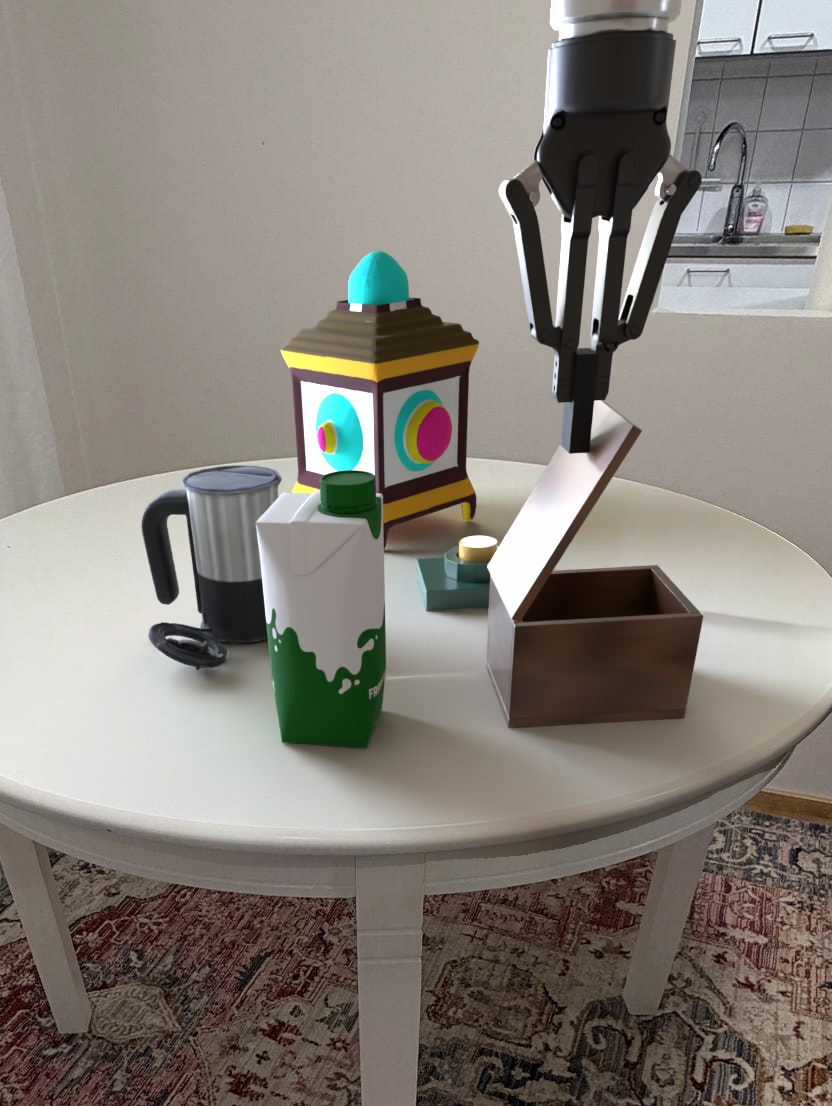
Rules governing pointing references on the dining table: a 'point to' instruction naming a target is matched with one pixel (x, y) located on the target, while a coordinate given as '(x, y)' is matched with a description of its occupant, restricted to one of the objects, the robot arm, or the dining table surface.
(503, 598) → the chest lid
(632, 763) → the dining table surface
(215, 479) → the milk frother
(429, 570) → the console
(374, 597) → the milk carton
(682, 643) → the chest
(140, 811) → the dining table surface
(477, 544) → the button
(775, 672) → the dining table surface
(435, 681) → the dining table surface
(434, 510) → the decorative lantern
